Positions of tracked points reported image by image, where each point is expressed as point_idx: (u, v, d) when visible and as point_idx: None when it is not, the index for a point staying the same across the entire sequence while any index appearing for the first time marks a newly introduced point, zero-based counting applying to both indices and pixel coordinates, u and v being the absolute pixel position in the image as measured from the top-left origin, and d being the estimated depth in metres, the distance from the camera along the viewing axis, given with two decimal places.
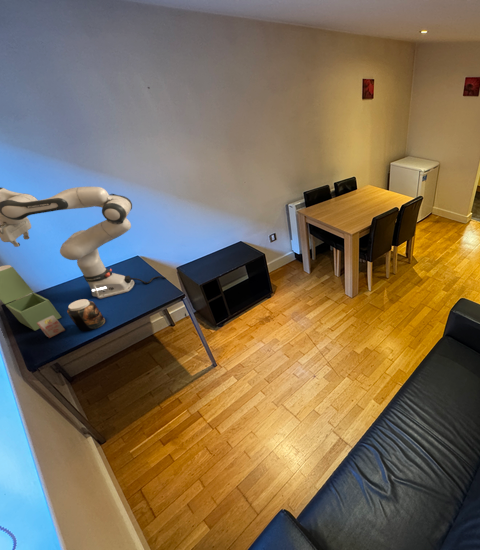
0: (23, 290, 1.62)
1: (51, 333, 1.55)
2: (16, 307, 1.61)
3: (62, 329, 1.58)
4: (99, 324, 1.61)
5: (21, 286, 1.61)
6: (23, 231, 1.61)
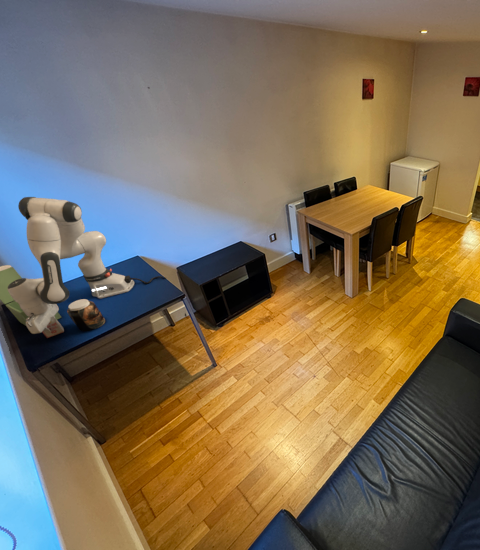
0: None
1: (49, 333, 1.54)
2: (16, 307, 1.61)
3: (61, 331, 1.57)
4: (99, 324, 1.61)
5: None
6: None
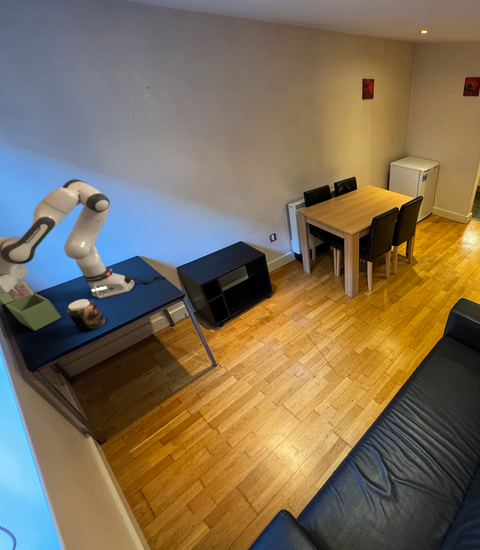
0: None
1: (16, 296, 1.50)
2: (16, 307, 1.61)
3: (29, 294, 1.53)
4: (99, 324, 1.61)
5: None
6: (19, 278, 1.50)
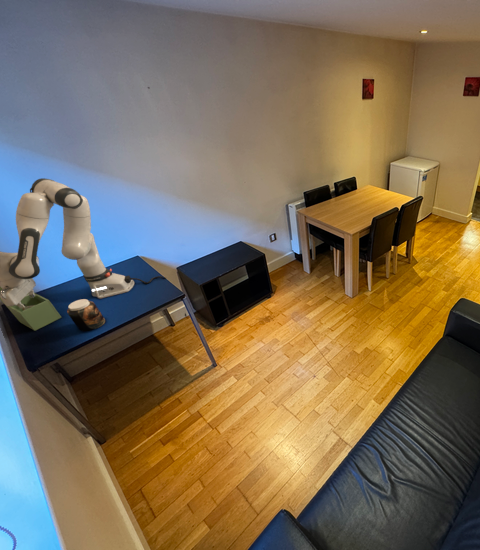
0: None
1: None
2: (16, 307, 1.61)
3: None
4: (99, 324, 1.61)
5: None
6: (27, 291, 1.57)
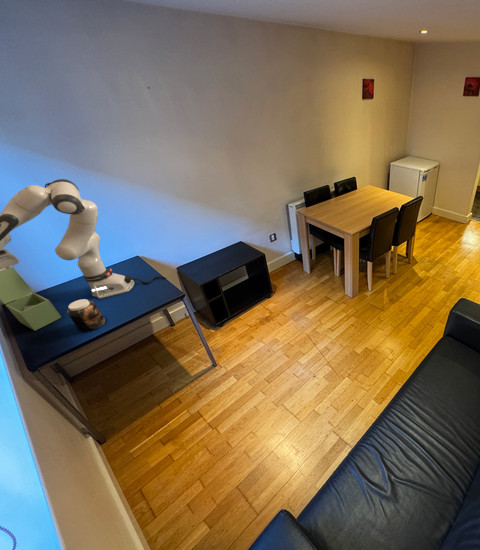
0: (23, 290, 1.62)
1: None
2: (16, 307, 1.61)
3: None
4: (99, 324, 1.61)
5: (21, 286, 1.61)
6: None
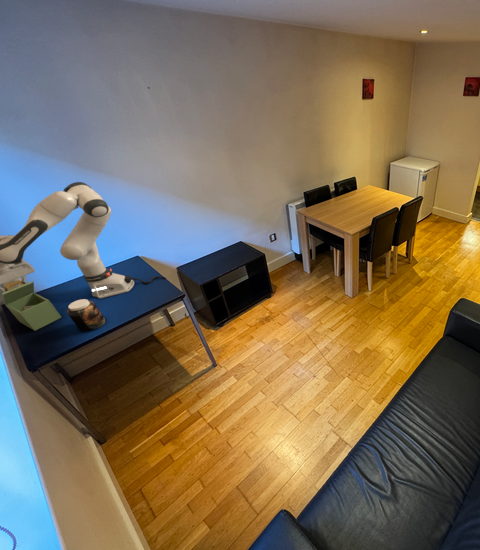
0: (27, 293, 1.62)
1: None
2: (16, 307, 1.61)
3: None
4: (99, 324, 1.61)
5: (28, 291, 1.61)
6: (14, 277, 1.51)
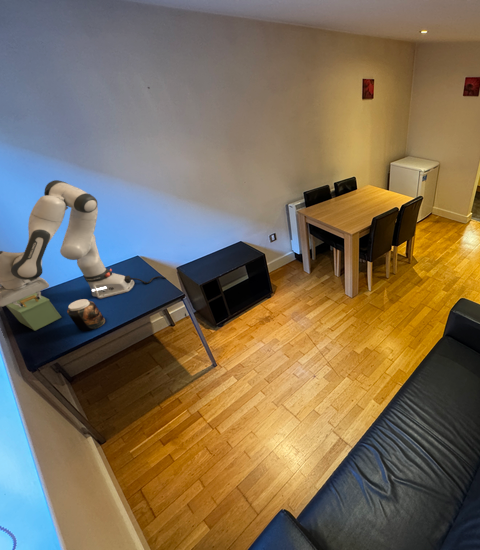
0: None
1: None
2: None
3: None
4: (99, 324, 1.61)
5: None
6: (30, 293, 1.54)
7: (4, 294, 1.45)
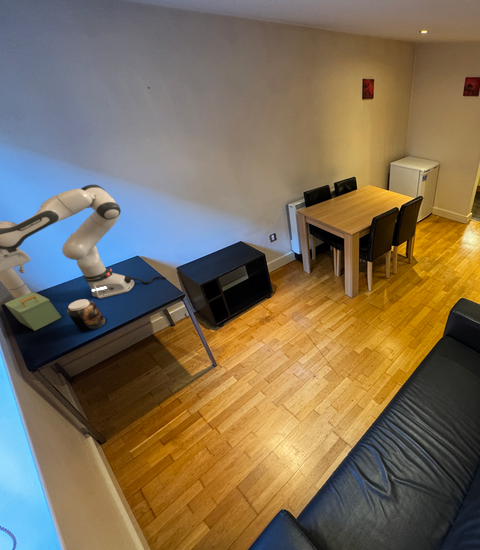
0: None
1: None
2: None
3: None
4: (99, 324, 1.61)
5: None
6: (9, 266, 1.45)
7: None
